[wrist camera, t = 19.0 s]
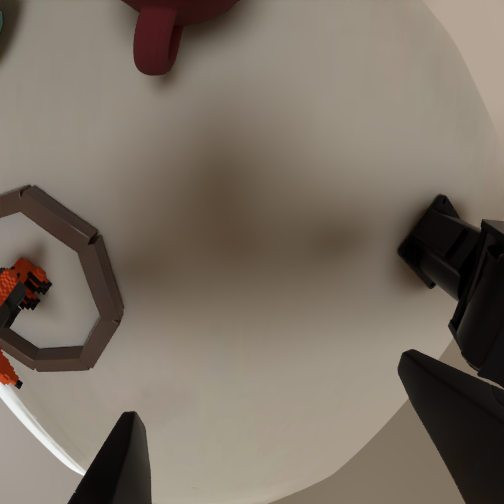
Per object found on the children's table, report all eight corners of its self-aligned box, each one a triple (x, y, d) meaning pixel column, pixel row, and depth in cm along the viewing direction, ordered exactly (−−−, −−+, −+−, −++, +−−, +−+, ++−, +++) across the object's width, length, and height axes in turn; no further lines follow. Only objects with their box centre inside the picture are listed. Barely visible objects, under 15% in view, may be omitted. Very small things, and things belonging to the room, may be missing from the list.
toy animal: (40, 336, 21) (-12, 448, 10) (-6, 294, 18) (-77, 392, 8) (85, 281, 20) (20, 412, 9) (33, 230, 17) (-71, 329, 7)
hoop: (153, 266, 20) (150, 277, 19) (80, 383, 23) (77, 395, 22) (-7, 153, 15) (-19, 156, 13) (-42, 299, 18) (-51, 307, 16)
